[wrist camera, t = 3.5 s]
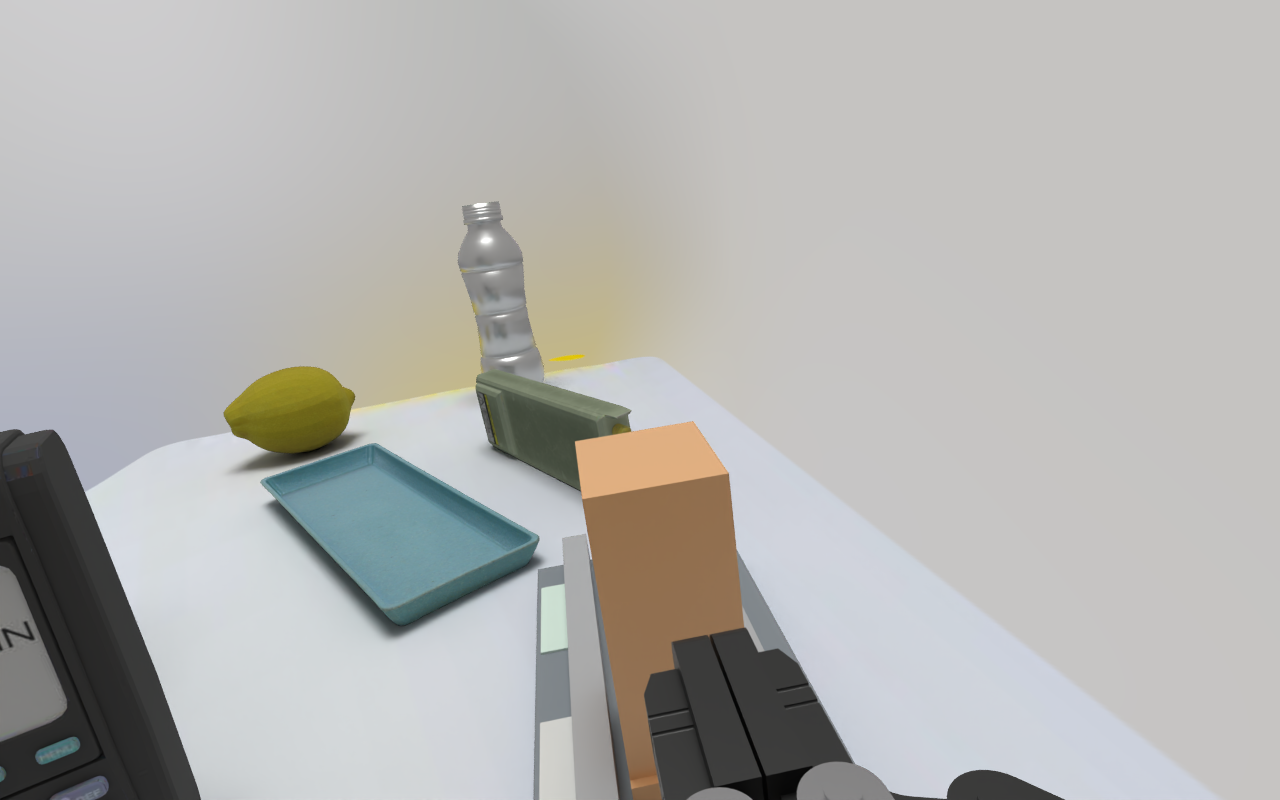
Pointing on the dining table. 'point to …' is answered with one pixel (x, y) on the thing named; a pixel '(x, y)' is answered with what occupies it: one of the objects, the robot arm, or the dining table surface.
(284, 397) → the lemon
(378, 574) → the rectangular tray
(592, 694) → the grey slotted base
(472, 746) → the dining table surface
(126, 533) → the dining table surface
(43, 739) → the card reader
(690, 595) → the switch tab
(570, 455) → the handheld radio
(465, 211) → the plastic bottle
